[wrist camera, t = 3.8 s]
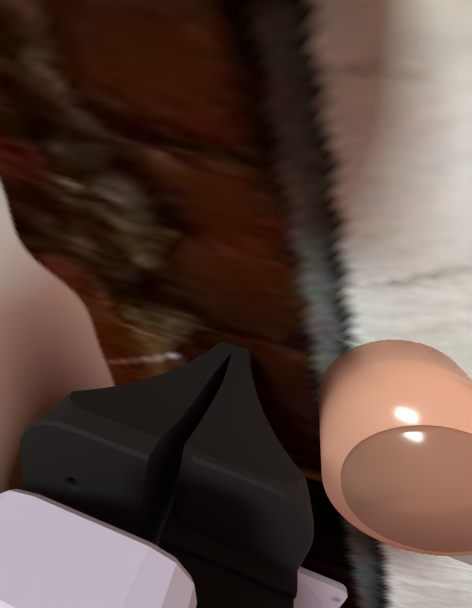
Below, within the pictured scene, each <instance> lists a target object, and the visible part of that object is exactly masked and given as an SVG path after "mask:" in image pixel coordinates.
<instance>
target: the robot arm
mask: <svg viewBox="0 0 472 608" xmlns="http://www.w3.org/2000/svg"><path fill="white" fill-rule="evenodd" d="M20 453H21V460H22V469H23V477H24V483H23V484H22V485H21V486H20V487H19V488H18V489H16V490H10V491H7V492H4V493H2V494H0V608H340V607H341V605H342V604H343V603H344V601H345V600H346V599H347V596H348V595H347V589H346V587H345V586H344V585H343V584H342V583H340V582H337V581H335V580H332V579H330V578H328V577H325V576H323V575H320V574H318V573H315V572H313V571H311V570H308V569H306V568H303V567H301V564H302V562H303V560H304V559H305V557H306V555H307V553H308V551H309V550H310V548H311V545H312V542H313V538H314V523H313V514H312V507H311V502H310V496H309V491H308V487H307V482H306V478H305V476H304V475H303V473H302V472H301V471H300V470H299V468H298V467H297V466H296V464H295V463H294V462H293V461H292V459H291V458H290V457H289V455H288V454H287V453H286V451H285V450H284V448H283V447H282V445H281V444H280V442H279V441H278V439H277V437H276V435H275V433H274V431H273V430H272V428H271V426H270V424H269V422H268V420H267V418H266V416H265V414H264V411H263V409H262V406H261V404H260V401H259V398H258V395H257V392H256V389H255V385H254V381H253V376H252V370H251V352H250V350H248V349H245V348H242V347H238V346H235V345H232V344H229V343H225V342H222V343H220V344H218V345H217V346H215V347H214V348H212V349H211V350H209V351H208V352H206V353H205V354H203V355H201V356H200V357H198V358H196V359H194V360H193V361H191V362H189V363H187V364H185V365H183V366H181V367H179V368H177V369H174V370H172V371H170V372H167V373H164V374H162V375H159V376H155V377H152V378H148V379H145V380H142V381H138V382H134V383H129V384H125V385H119V386H114V387H108V388H102V389H93V390H83V391H73V392H71V393H70V394H68V395H67V396H66V397H64V398H63V399H61V400H60V401H59V402H57V403H56V404H55V405H54V406H52V407H51V408H50V409H49V410H47V411H46V412H45V413H44V414H43V415H41V416H40V417H39V418H38V419H37V420H35V421H34V422H33V423H31V424H30V425H29V426H28V427H27V428H25V429H24V432H23V434H22V436H21V442H20ZM159 541H160V544H159V547H158V546H157V545H158V542H159Z"/></svg>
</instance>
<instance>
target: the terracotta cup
mask: <svg viewBox="0 0 472 608" xmlns="http://www.w3.org/2000/svg"><path fill="white" fill-rule="evenodd" d="M318 397H319V422H320V446H321V470H322V481H323V486H324V489H325V491H326V494H327V496H328V498H329V499H330V501H331V503H332V504H333V506H334V507H335V508H336V509H337V511H338V512H339V513H340V514H341V515H342V516H343V517H344V518H345V519H346V520H347V521H349V522H350V523H351V524H352V525H353V526H355V527H356V528H358V529H359V530H361V531H362V532H364V533H366V534H367V535H369V536H371V537H373V538H375V539H377V540H379V541H381V542H384V543H386V544H389V545H392V546H394V547H397V548H401V549H404V550H408V551H412V552H417V553H422V554H430V555H439V556H468V555H472V380H471V379H470V378H469V377H468V375H467V374H466V373H465V372H464V371H463V370H462V369H461V368H460V367H459V366H458V365H457V364H456V363H455V362H454V361H453V360H452V359H450V358H449V357H448V356H446V355H445V354H443V353H442V352H440V351H438V350H436V349H434V348H432V347H429V346H426V345H423V344H420V343H415V342H411V341H403V340H383V341H375V342H370V343H366V344H363V345H360V346H357V347H355V348H353V349H351V350H349V351H347V352H345V353H344V354H342V355H341V356H340V357H338V358H337V359H336V360H335V361H334V362H333V363H332V364H331V365H330V366H329V367H328V369H327V370H326V372H325V373H324V375H323V377H322V380H321V383H320V386H319V393H318Z"/></svg>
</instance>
